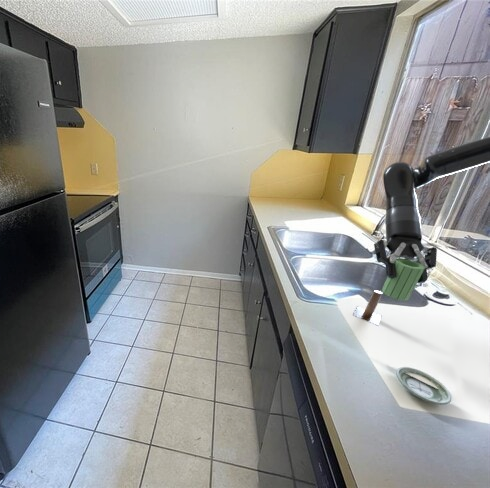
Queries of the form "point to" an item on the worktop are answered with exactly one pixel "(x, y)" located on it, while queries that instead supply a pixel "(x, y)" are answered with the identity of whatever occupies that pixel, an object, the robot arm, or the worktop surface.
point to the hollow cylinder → (403, 279)
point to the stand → (370, 309)
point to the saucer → (423, 386)
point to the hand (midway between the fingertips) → (406, 279)
